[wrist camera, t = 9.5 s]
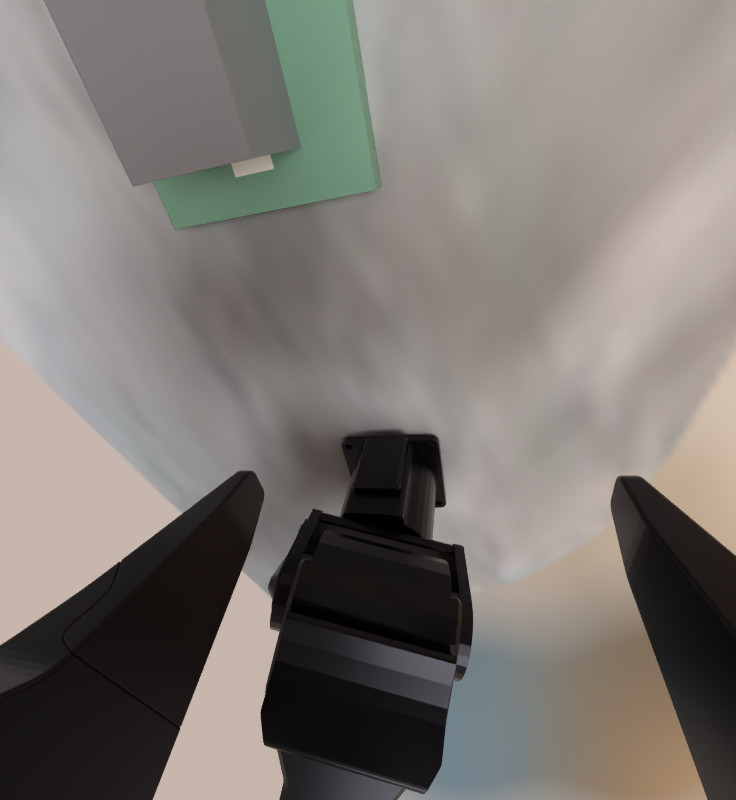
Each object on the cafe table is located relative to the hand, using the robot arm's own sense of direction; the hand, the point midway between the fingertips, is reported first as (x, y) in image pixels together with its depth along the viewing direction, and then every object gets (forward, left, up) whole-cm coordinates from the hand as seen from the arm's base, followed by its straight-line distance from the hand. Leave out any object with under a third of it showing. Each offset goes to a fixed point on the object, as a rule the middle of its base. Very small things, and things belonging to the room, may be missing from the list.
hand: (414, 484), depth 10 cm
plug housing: (+11, +7, -11) cm, 17 cm away
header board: (+11, +7, -12) cm, 18 cm away
